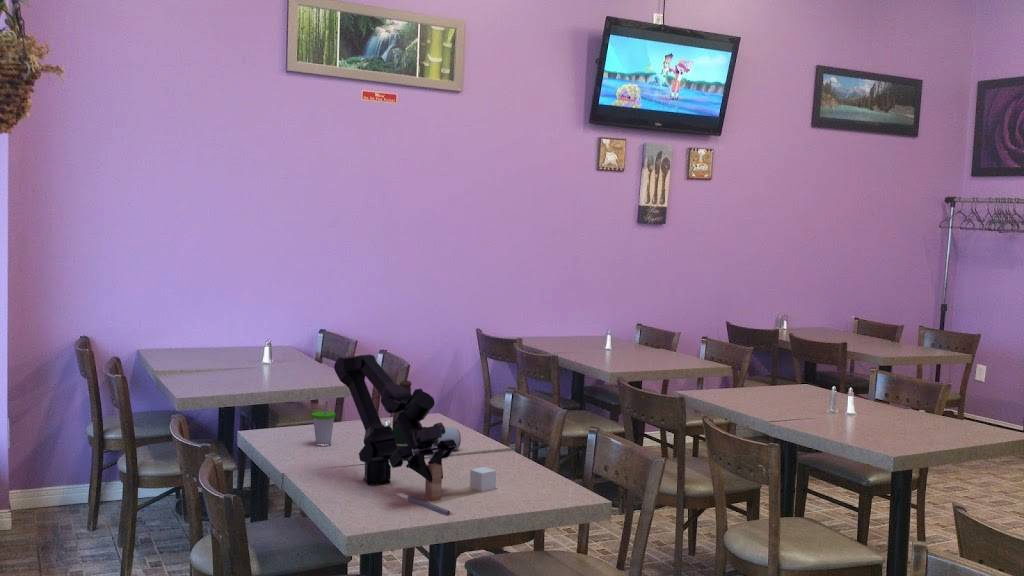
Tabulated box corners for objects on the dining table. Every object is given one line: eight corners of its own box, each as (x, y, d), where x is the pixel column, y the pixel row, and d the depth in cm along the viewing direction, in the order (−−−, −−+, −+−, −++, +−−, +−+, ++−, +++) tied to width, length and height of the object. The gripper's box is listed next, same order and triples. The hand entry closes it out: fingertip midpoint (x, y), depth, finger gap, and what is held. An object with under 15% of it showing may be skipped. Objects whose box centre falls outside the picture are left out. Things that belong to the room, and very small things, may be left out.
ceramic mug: (461, 451, 309) (462, 428, 308) (437, 453, 305) (438, 429, 305) (450, 445, 318) (450, 422, 318) (427, 446, 315) (427, 423, 314)
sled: (420, 501, 253) (420, 464, 252) (483, 487, 267) (484, 452, 267) (433, 506, 248) (434, 468, 247) (498, 492, 263) (498, 456, 262)
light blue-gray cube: (470, 487, 263) (470, 469, 263) (483, 484, 266) (484, 466, 266) (481, 491, 259) (482, 473, 259) (495, 488, 263) (496, 470, 262)
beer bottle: (406, 461, 294) (407, 384, 293) (386, 457, 299) (387, 381, 297) (421, 456, 301) (423, 381, 299) (402, 452, 305) (403, 378, 303)
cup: (316, 441, 318) (316, 396, 317) (338, 442, 317) (339, 397, 316) (307, 446, 310) (308, 401, 309) (331, 448, 309) (331, 402, 308)
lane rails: (407, 499, 254) (407, 496, 254) (479, 484, 271) (479, 480, 271) (446, 515, 242) (446, 511, 242) (520, 498, 258) (520, 494, 258)
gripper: (396, 417, 247) (421, 468, 239) (453, 409, 259) (478, 457, 252) (378, 441, 253) (402, 492, 246) (435, 432, 266) (459, 480, 258)
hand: (436, 480), depth 250 cm, fingers closed on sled, 3 cm apart
